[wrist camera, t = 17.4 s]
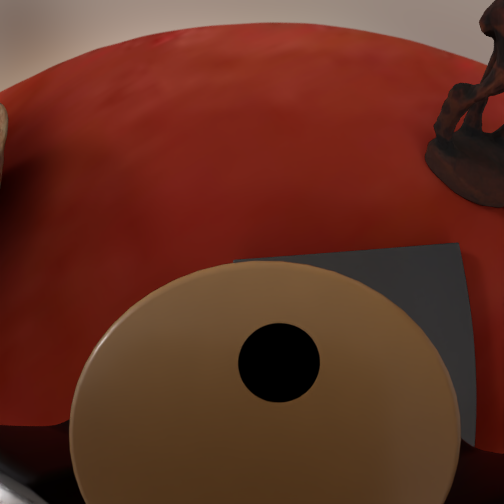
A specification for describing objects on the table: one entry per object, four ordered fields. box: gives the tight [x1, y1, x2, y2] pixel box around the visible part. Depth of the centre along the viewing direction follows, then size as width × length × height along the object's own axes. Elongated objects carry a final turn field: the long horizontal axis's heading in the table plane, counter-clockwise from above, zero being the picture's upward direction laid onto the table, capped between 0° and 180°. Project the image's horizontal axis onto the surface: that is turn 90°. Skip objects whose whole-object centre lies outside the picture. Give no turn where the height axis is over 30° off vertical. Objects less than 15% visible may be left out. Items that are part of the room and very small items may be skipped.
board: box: [233, 243, 476, 447], centre depth 16 cm, size 16×14×1 cm
